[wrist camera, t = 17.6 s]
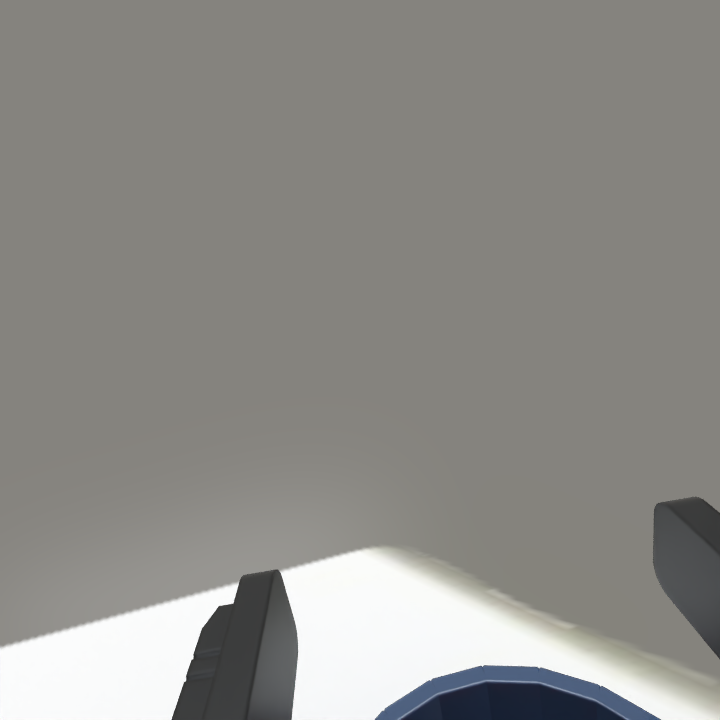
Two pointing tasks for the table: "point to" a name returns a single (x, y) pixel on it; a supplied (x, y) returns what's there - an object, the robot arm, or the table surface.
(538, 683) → the blue round bowl
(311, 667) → the table surface
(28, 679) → the table surface
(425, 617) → the table surface
